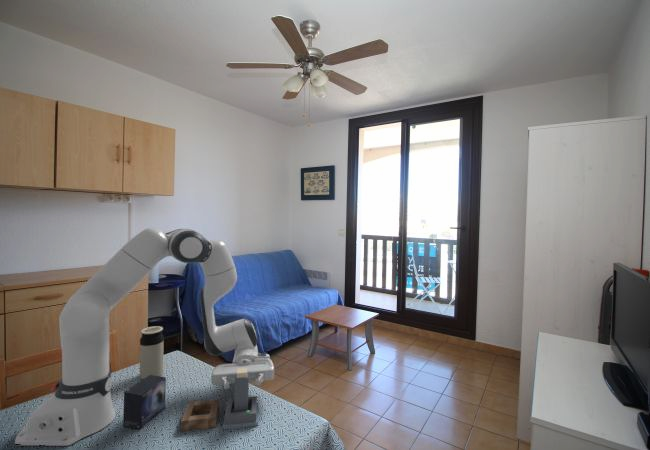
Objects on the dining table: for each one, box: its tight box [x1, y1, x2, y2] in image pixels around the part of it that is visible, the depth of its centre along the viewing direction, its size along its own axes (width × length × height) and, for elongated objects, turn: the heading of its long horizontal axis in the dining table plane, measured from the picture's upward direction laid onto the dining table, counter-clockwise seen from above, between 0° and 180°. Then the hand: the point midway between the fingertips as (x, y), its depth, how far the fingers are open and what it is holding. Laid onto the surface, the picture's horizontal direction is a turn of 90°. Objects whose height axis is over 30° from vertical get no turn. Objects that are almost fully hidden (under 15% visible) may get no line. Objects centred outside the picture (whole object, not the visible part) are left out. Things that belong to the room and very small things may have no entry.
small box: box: [122, 375, 167, 430], centre depth 94 cm, size 11×6×10 cm, turn 168°
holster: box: [180, 398, 221, 432], centre depth 94 cm, size 9×9×3 cm
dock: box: [222, 395, 259, 430], centre depth 95 cm, size 10×10×4 cm
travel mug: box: [139, 325, 165, 380], centre depth 119 cm, size 8×8×18 cm
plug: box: [233, 368, 250, 412], centre depth 95 cm, size 4×4×14 cm
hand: (242, 385), depth 96 cm, fingers open, 8 cm apart
